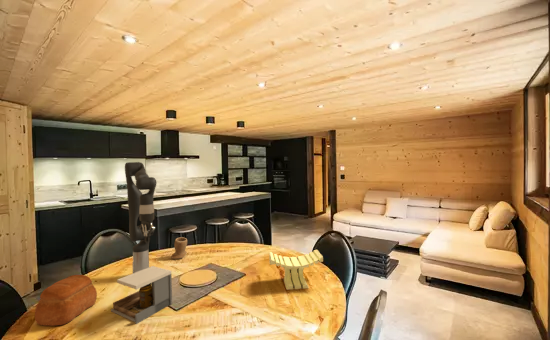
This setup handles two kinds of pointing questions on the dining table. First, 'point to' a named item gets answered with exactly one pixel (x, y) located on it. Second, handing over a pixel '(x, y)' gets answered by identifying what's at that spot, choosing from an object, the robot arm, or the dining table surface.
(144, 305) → the condiment
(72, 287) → the bread
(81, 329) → the dining table surface
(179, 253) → the brown boot
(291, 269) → the slatted curved stool
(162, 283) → the grey coffee machine
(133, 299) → the tray
